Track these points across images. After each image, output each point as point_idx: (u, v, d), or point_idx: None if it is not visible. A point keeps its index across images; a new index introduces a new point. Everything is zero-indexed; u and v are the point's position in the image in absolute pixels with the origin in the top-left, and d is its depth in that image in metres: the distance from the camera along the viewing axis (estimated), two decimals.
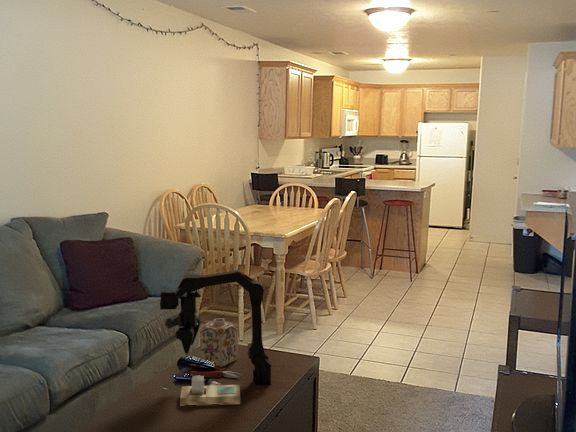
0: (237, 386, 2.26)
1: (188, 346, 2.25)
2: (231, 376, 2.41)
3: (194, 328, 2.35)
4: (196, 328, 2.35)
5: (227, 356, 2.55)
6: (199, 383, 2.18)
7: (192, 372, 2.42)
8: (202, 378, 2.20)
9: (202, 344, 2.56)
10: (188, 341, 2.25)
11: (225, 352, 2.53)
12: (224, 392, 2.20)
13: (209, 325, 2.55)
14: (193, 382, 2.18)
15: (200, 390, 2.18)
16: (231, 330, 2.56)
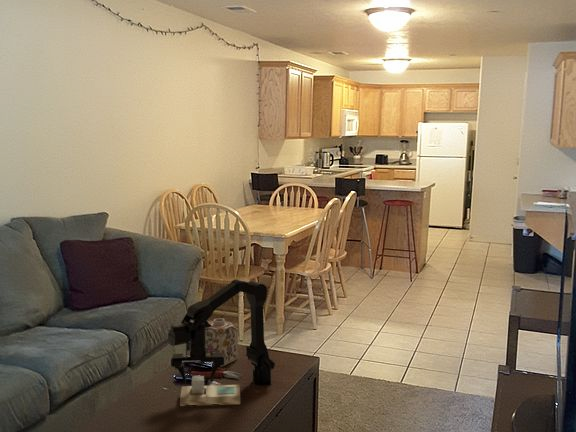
0: (237, 386, 2.26)
1: None
2: (231, 376, 2.40)
3: (212, 366, 2.19)
4: (212, 367, 2.18)
5: (227, 356, 2.55)
6: (199, 383, 2.18)
7: (192, 372, 2.42)
8: (202, 378, 2.20)
9: None
10: None
11: (225, 352, 2.53)
12: (224, 392, 2.20)
13: None
14: (193, 382, 2.18)
15: (200, 390, 2.18)
16: (231, 330, 2.56)
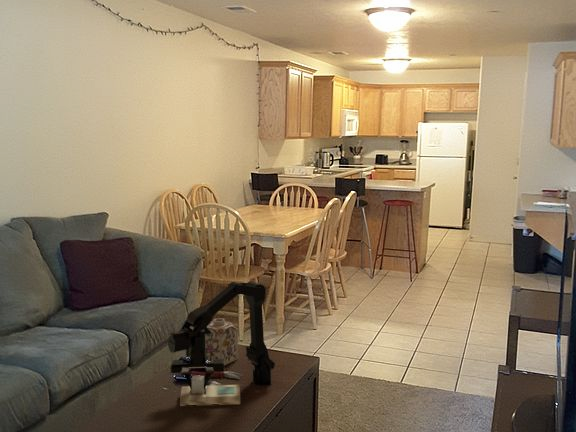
0: (237, 386, 2.26)
1: None
2: (232, 376, 2.40)
3: (205, 372, 2.19)
4: (205, 373, 2.18)
5: (227, 356, 2.55)
6: (199, 383, 2.18)
7: (193, 372, 2.41)
8: (202, 378, 2.20)
9: None
10: None
11: (225, 352, 2.53)
12: (224, 392, 2.20)
13: (209, 325, 2.55)
14: (193, 382, 2.18)
15: (200, 390, 2.18)
16: (231, 330, 2.56)
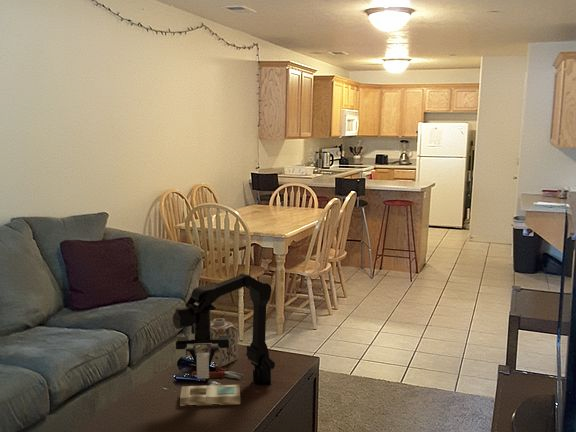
0: (237, 386, 2.26)
1: None
2: (233, 376, 2.40)
3: (210, 349, 2.18)
4: (210, 349, 2.17)
5: (227, 356, 2.55)
6: (204, 359, 2.17)
7: (194, 372, 2.41)
8: (207, 354, 2.19)
9: None
10: None
11: (225, 352, 2.53)
12: (224, 392, 2.20)
13: None
14: (198, 358, 2.17)
15: (206, 366, 2.18)
16: (231, 330, 2.56)
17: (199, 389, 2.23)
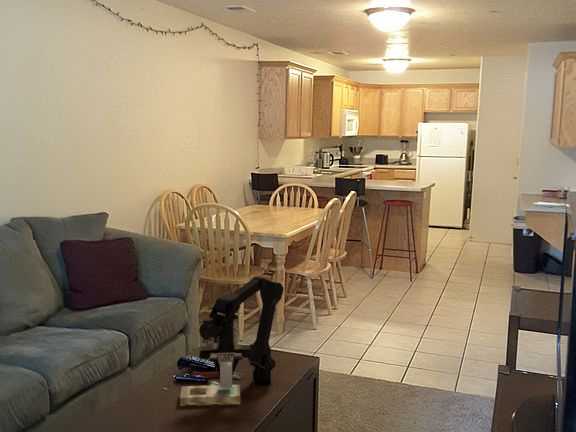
0: (237, 386, 2.26)
1: None
2: (233, 376, 2.40)
3: (233, 358, 2.19)
4: (233, 359, 2.18)
5: (227, 356, 2.55)
6: (227, 369, 2.18)
7: (194, 372, 2.41)
8: (230, 364, 2.20)
9: (202, 344, 2.56)
10: None
11: None
12: (224, 392, 2.20)
13: None
14: (221, 368, 2.18)
15: (229, 376, 2.19)
16: None
17: (199, 389, 2.23)
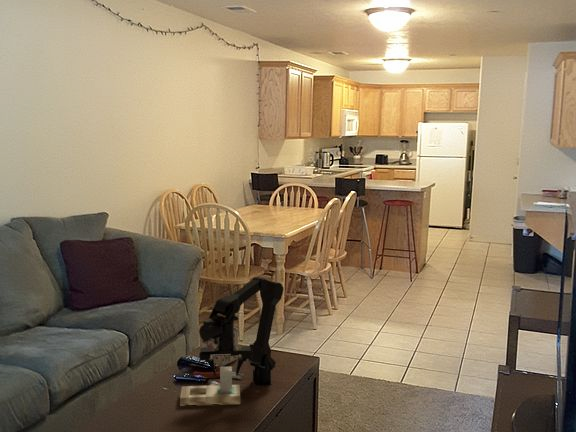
0: (237, 386, 2.26)
1: (212, 369, 2.19)
2: (234, 377, 2.40)
3: (238, 359, 2.19)
4: (238, 360, 2.18)
5: (227, 356, 2.55)
6: (227, 374, 2.19)
7: (195, 373, 2.41)
8: (230, 369, 2.20)
9: (202, 344, 2.56)
10: None
11: None
12: None
13: None
14: (221, 372, 2.18)
15: (229, 380, 2.19)
16: None
17: (199, 389, 2.23)
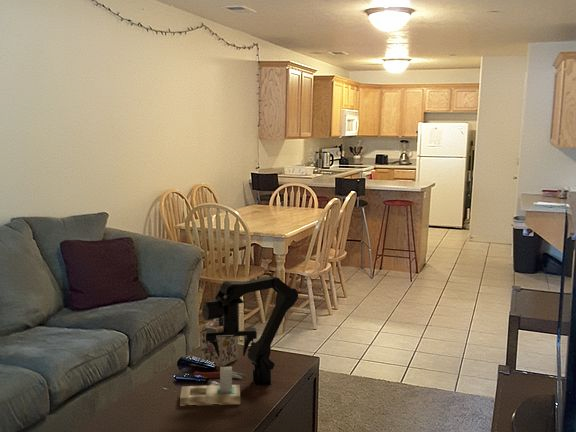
0: (237, 386, 2.26)
1: None
2: (235, 377, 2.40)
3: (244, 340, 2.27)
4: (245, 340, 2.26)
5: (227, 356, 2.55)
6: (227, 374, 2.19)
7: (196, 373, 2.41)
8: (230, 369, 2.20)
9: (202, 344, 2.56)
10: None
11: (225, 352, 2.53)
12: None
13: (209, 325, 2.55)
14: (221, 372, 2.18)
15: (229, 380, 2.19)
16: None
17: (199, 389, 2.23)
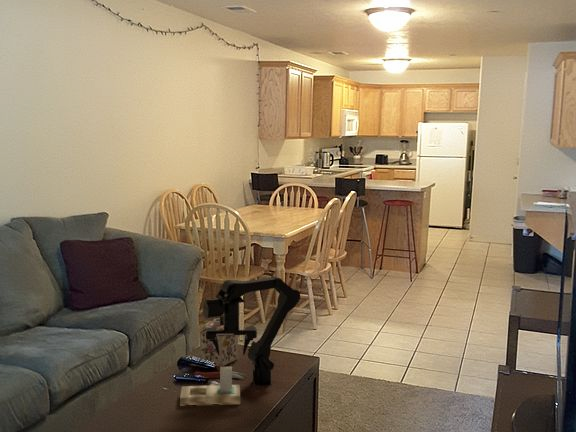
0: (237, 386, 2.26)
1: None
2: (236, 376, 2.40)
3: (245, 339, 2.28)
4: (245, 340, 2.27)
5: (227, 356, 2.55)
6: (227, 374, 2.19)
7: (196, 373, 2.41)
8: (230, 369, 2.20)
9: (202, 344, 2.56)
10: None
11: (225, 352, 2.53)
12: None
13: (209, 325, 2.55)
14: (221, 372, 2.18)
15: (229, 380, 2.19)
16: None
17: (199, 389, 2.23)
